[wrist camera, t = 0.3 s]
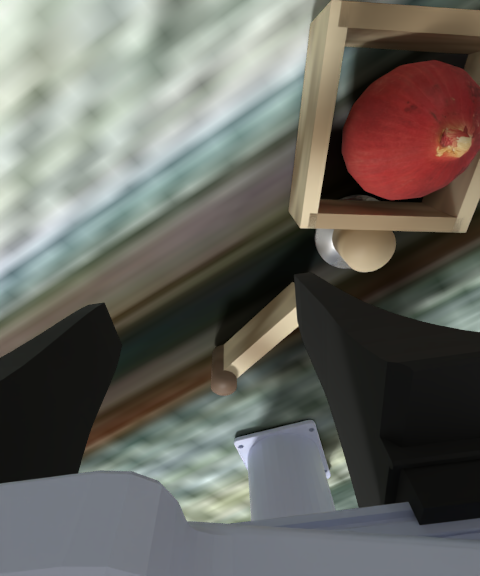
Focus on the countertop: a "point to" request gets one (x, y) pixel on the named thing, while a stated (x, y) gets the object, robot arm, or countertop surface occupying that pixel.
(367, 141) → the onion
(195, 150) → the countertop surface
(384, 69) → the countertop surface
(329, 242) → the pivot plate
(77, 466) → the robot arm
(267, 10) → the countertop surface
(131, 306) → the countertop surface
